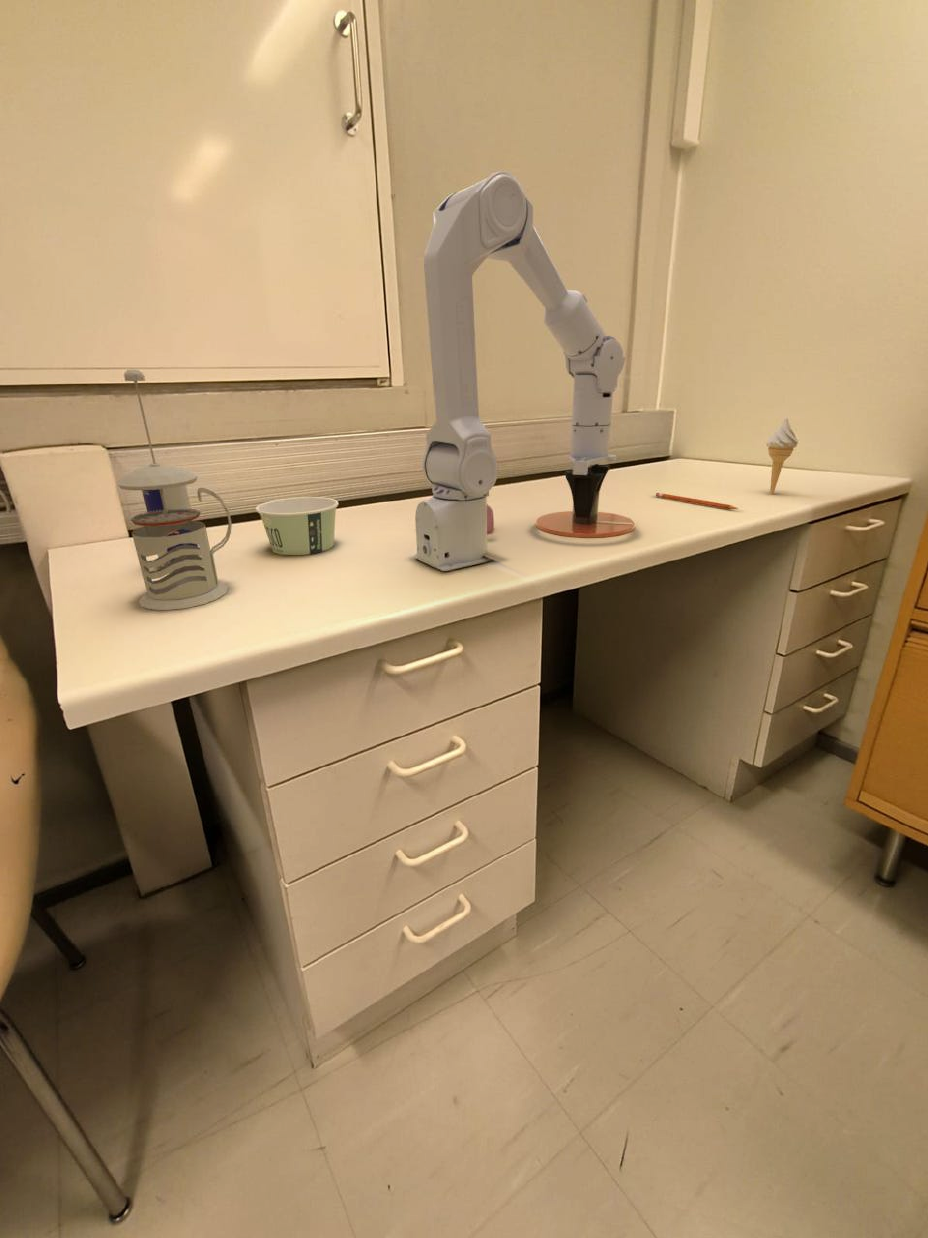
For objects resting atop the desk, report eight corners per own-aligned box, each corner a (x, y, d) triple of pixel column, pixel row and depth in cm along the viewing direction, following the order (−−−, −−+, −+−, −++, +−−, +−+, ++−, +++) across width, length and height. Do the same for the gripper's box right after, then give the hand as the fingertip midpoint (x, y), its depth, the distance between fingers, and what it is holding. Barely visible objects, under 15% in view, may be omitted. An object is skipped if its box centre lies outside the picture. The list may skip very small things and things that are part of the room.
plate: (525, 533, 87) (526, 497, 85) (547, 512, 100) (548, 480, 98) (629, 540, 82) (633, 502, 80) (637, 517, 95) (641, 483, 93)
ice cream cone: (750, 492, 118) (764, 416, 112) (772, 490, 120) (786, 415, 114) (771, 497, 113) (786, 418, 107) (793, 495, 115) (810, 417, 109)
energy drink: (156, 571, 77) (134, 482, 72) (164, 560, 81) (144, 476, 77) (199, 567, 78) (180, 479, 73) (204, 557, 83) (187, 473, 78)
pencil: (657, 495, 116) (658, 492, 116) (740, 510, 103) (740, 506, 103) (655, 496, 116) (655, 493, 116) (737, 510, 102) (738, 506, 102)
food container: (358, 544, 87) (354, 502, 85) (293, 563, 79) (286, 517, 76) (311, 532, 95) (306, 493, 92) (246, 549, 86) (239, 506, 83)
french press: (142, 588, 70) (85, 370, 61) (240, 574, 75) (202, 368, 65) (135, 616, 62) (68, 368, 52) (246, 598, 66) (203, 366, 57)
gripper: (611, 429, 78) (603, 526, 83) (623, 421, 90) (616, 506, 95) (560, 428, 80) (556, 522, 85) (579, 421, 92) (574, 503, 98)
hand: (585, 514), depth 91 cm, fingers closed on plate, 4 cm apart
